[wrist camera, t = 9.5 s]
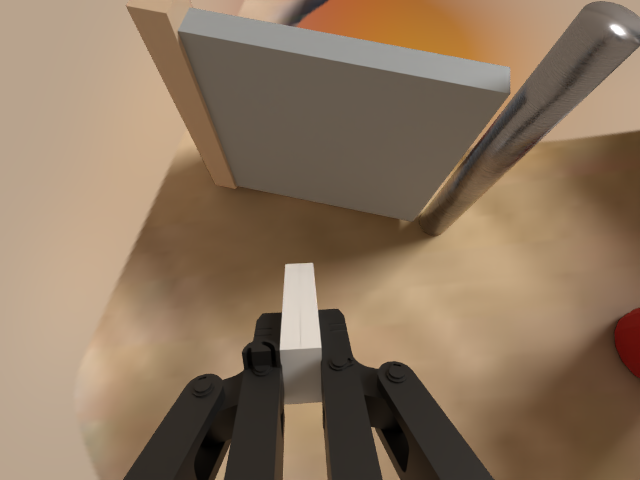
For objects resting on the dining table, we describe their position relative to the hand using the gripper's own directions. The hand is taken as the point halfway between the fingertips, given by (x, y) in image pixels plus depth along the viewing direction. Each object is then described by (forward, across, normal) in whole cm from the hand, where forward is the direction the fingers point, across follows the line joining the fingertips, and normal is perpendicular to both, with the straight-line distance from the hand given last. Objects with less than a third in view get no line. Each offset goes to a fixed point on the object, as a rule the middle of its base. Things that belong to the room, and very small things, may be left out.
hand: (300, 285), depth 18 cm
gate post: (+11, +12, -1) cm, 16 cm away
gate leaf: (+12, +1, +2) cm, 12 cm away
